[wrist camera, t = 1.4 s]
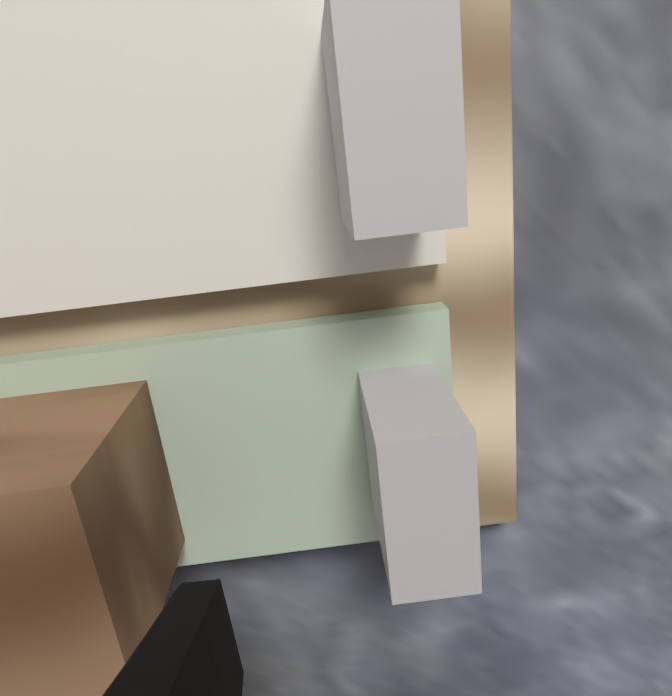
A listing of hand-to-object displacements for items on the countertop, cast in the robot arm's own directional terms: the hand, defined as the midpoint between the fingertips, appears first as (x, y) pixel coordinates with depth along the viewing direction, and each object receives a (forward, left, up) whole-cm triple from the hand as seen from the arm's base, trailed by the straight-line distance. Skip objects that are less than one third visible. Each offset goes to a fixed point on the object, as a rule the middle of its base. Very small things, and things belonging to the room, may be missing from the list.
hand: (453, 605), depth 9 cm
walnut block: (-1, +9, -7) cm, 11 cm away
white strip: (+7, +5, -8) cm, 12 cm away
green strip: (-1, +5, -8) cm, 9 cm away
